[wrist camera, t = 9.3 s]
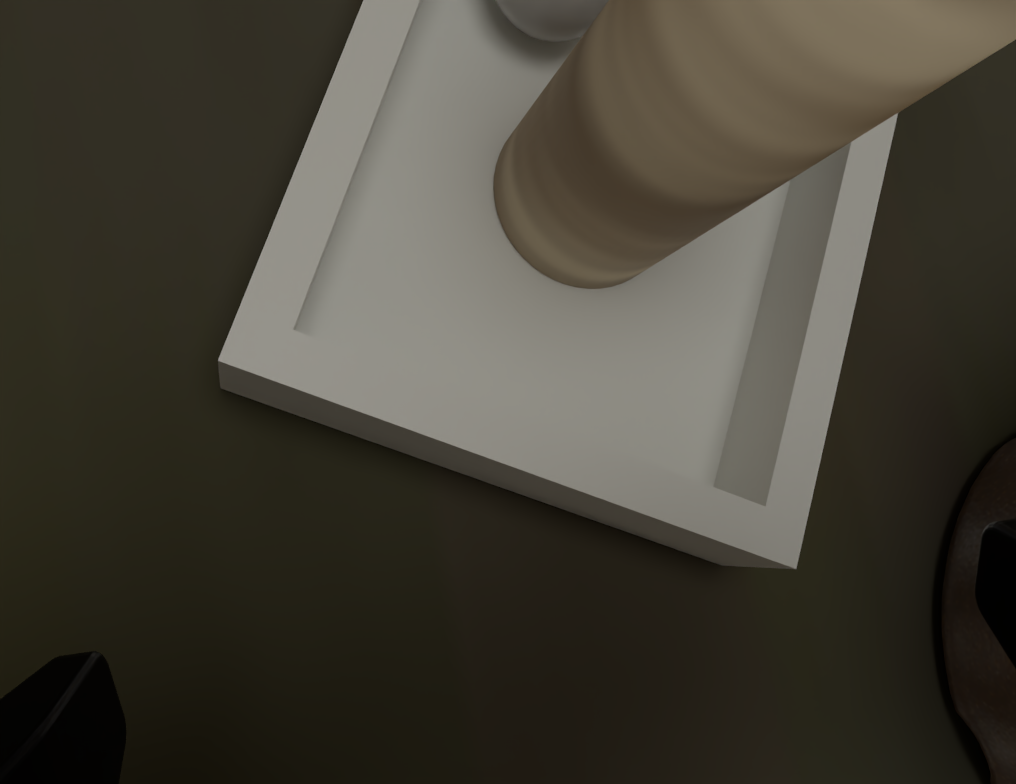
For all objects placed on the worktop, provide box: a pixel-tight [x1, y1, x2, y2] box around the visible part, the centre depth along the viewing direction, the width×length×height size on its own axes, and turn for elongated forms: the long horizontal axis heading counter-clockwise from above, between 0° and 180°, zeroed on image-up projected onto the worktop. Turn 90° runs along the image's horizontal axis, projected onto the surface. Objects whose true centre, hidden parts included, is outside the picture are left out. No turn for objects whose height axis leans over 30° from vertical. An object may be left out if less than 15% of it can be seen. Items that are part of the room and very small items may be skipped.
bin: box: [218, 0, 898, 569], centre depth 20 cm, size 14×12×3 cm
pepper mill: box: [493, 0, 1016, 289], centre depth 14 cm, size 4×4×14 cm
